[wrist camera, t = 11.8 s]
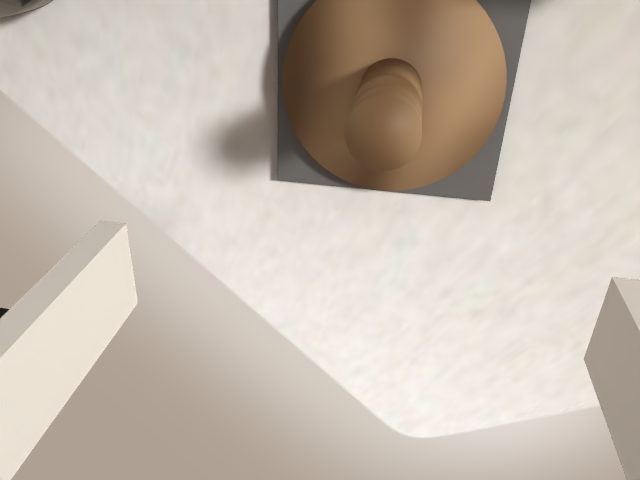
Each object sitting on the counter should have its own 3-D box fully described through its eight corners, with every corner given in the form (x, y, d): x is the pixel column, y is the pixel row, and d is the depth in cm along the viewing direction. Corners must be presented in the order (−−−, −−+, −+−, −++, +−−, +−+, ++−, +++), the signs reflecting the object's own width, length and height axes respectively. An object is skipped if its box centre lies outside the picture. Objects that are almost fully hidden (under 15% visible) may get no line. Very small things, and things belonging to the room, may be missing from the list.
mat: (279, 176, 40) (277, 180, 39) (280, -53, 33) (278, -52, 32) (489, 197, 38) (490, 201, 38) (537, -40, 31) (538, -39, 31)
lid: (284, 174, 39) (250, 240, 31) (286, -41, 33) (243, -25, 25) (483, 193, 38) (498, 268, 30) (526, -28, 31) (560, -6, 23)
